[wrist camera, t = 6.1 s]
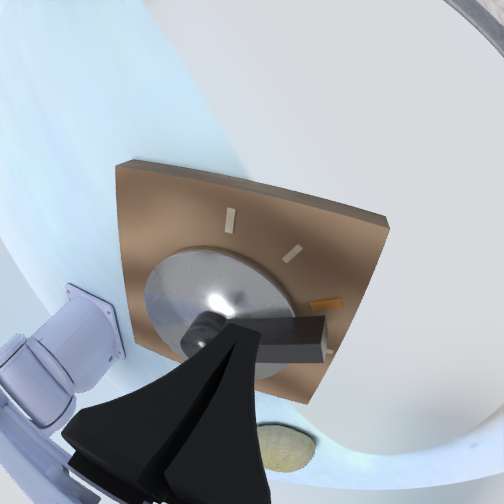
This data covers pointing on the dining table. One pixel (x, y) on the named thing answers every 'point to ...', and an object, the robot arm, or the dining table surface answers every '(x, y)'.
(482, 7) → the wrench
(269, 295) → the dial
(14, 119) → the dining table surface
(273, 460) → the sea urchin shell
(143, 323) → the dial base
